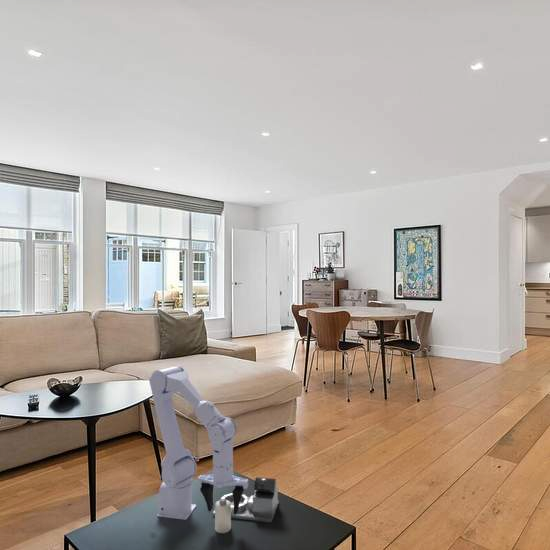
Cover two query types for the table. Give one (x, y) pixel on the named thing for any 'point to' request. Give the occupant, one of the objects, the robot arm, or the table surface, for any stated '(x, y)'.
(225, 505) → the white bottle
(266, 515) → the grey machine
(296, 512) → the table surface
